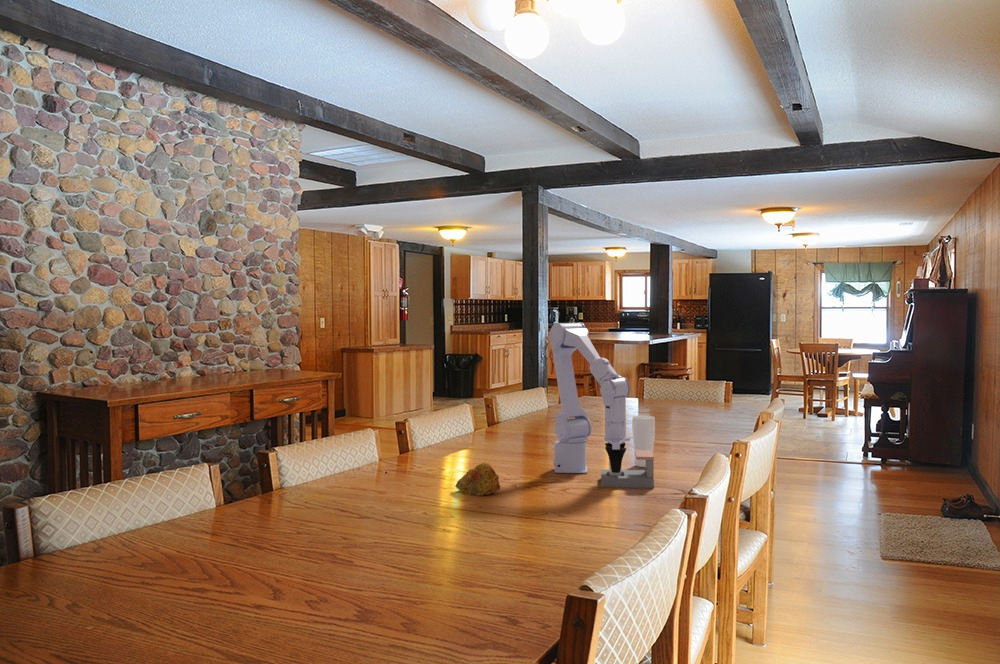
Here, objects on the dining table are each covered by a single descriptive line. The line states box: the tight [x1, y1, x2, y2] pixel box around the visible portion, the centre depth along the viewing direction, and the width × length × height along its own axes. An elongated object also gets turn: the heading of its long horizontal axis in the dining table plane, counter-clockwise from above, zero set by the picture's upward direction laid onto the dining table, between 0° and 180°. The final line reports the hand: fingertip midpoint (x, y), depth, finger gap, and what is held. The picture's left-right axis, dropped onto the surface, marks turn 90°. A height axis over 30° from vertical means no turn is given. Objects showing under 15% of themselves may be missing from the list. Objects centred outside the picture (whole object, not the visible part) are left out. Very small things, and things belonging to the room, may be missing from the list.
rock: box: [455, 462, 501, 497], centre depth 193 cm, size 11×8×10 cm
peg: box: [608, 459, 622, 476], centre depth 201 cm, size 3×3×8 cm
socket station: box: [600, 450, 655, 489], centre depth 200 cm, size 14×10×8 cm
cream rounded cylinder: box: [631, 415, 656, 468], centre depth 221 cm, size 7×7×15 cm
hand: (615, 470), depth 201 cm, fingers open, 4 cm apart
